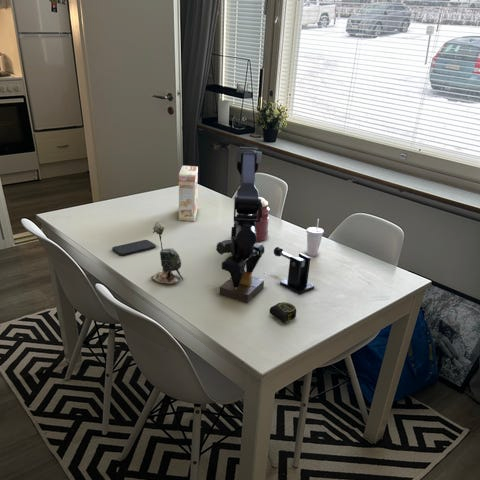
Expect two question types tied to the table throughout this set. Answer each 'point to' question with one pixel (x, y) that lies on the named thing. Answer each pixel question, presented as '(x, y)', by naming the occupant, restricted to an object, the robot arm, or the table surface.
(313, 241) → the smoothie
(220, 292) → the plate
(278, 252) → the door handle
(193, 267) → the table surface
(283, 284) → the handle bracket
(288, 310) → the tape measure
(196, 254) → the table surface
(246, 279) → the thumb turn
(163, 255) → the dried flower vase
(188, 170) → the coffeecake box
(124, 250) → the phone
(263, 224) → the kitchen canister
